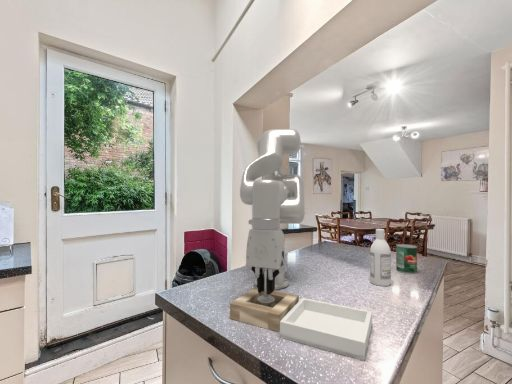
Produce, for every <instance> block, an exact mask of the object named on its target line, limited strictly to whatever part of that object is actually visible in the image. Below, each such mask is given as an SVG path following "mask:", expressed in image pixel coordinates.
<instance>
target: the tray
mask: <svg viewBox="0 0 512 384" xmlns="http://www.w3.org/2000/svg"><path fill="white" fill-rule="evenodd" d="M372 327H373V311H371V310H366V309H361V308H358V307H357V308H356V307H352V306H346V305H341V304H336V303H333V302H332V303H330V302H326V301H321V300H315V299H311V298H310V299H309V298H304V297H301V299H299V302H298V303H297V304H296V305H295V306H294V307H293V308H292V309H291V310H290V311H289V312H288V313H287V315H286V316H285V317H284V318H283V319H282V320H281V321H280V332H279V338H281V339H286V340H289V341H292V342H296V343H299V344H303V345H307V346H311V347H314V348H318V349H320V350H325V351H328V352H332V353H335V354H338V355H342V356H345V357H350V358H353V359H356V360H360V361H363V362H365V361H366V357H367V351H368V347H369V343H370V337H371V333H372Z"/></svg>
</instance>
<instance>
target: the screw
mask: <svg viewBox="0 0 512 384" xmlns="http://www.w3.org/2000/svg"><path fill="white" fill-rule="evenodd" d="M267 279H268V269H266V268H264V270H263V295H262V296H259V297H258V298H257V301H258V302H259V303H261V305H263V306H268V307H271V303H273V302H274V301H275V298H274V297H273V296H270V295H268V294H267V293H266V286H267Z"/></svg>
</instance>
